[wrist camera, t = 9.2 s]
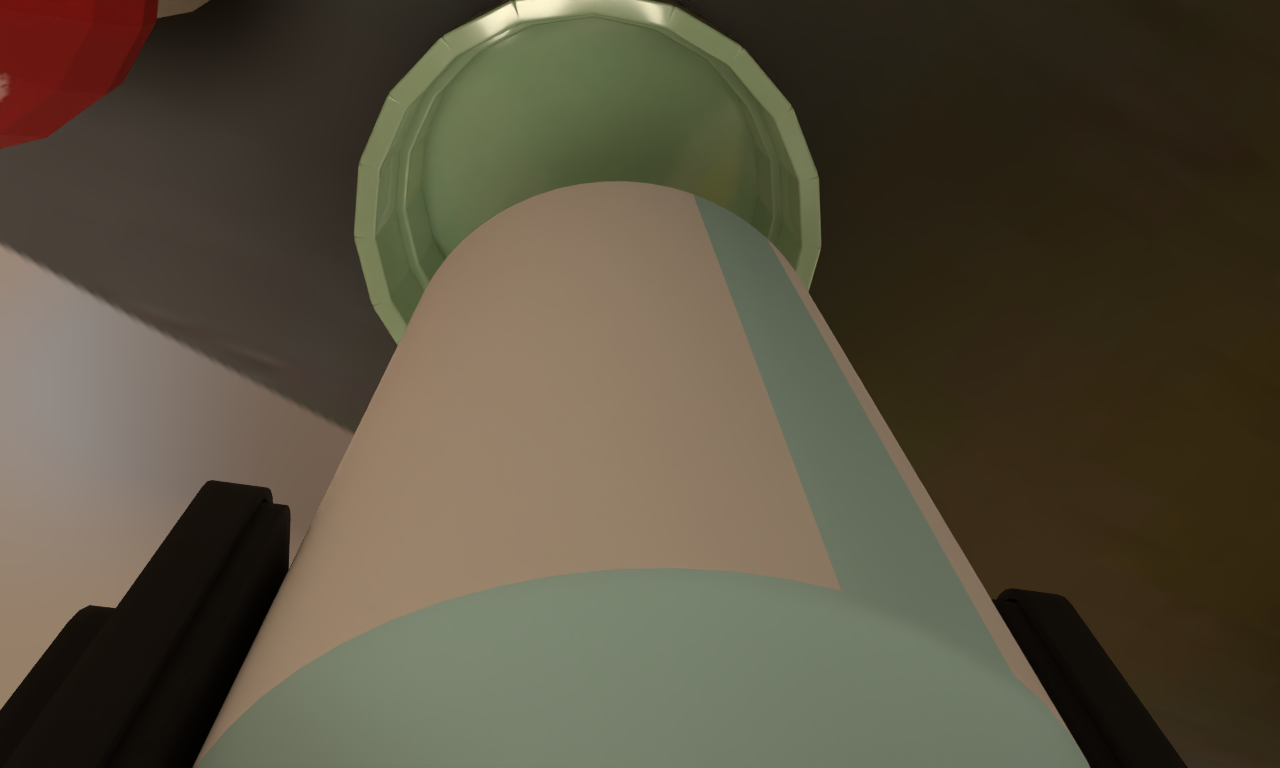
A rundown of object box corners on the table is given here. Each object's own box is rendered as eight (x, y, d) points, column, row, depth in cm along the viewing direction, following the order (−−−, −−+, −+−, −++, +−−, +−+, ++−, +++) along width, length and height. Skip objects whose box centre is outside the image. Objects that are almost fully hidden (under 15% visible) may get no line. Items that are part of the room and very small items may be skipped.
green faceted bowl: (824, 26, 25) (880, 48, 20) (730, 383, 30) (756, 471, 25) (418, -60, 24) (372, -59, 19) (386, 327, 29) (341, 409, 24)
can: (669, 593, 18) (775, 1540, 7) (342, 428, 16) (-151, 1379, 6) (898, 314, 16) (1542, 1117, 5) (545, 81, 14) (371, 576, 3)
